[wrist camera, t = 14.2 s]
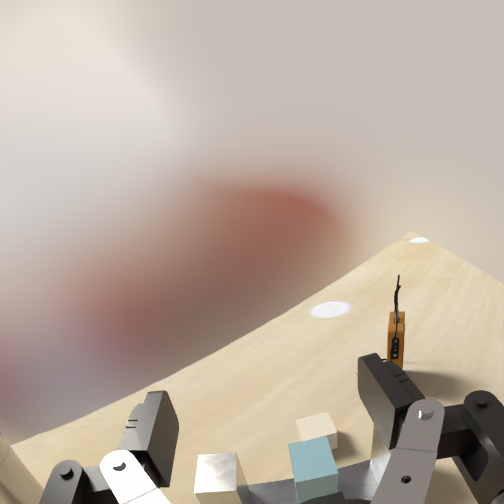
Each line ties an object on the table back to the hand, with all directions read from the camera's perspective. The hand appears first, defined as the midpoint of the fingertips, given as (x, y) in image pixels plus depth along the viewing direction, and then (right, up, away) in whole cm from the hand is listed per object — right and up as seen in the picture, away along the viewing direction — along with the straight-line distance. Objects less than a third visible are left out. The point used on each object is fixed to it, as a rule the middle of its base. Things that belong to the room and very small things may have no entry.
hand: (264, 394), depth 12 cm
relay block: (+10, -23, +30) cm, 39 cm away
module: (+8, -25, +19) cm, 32 cm away
